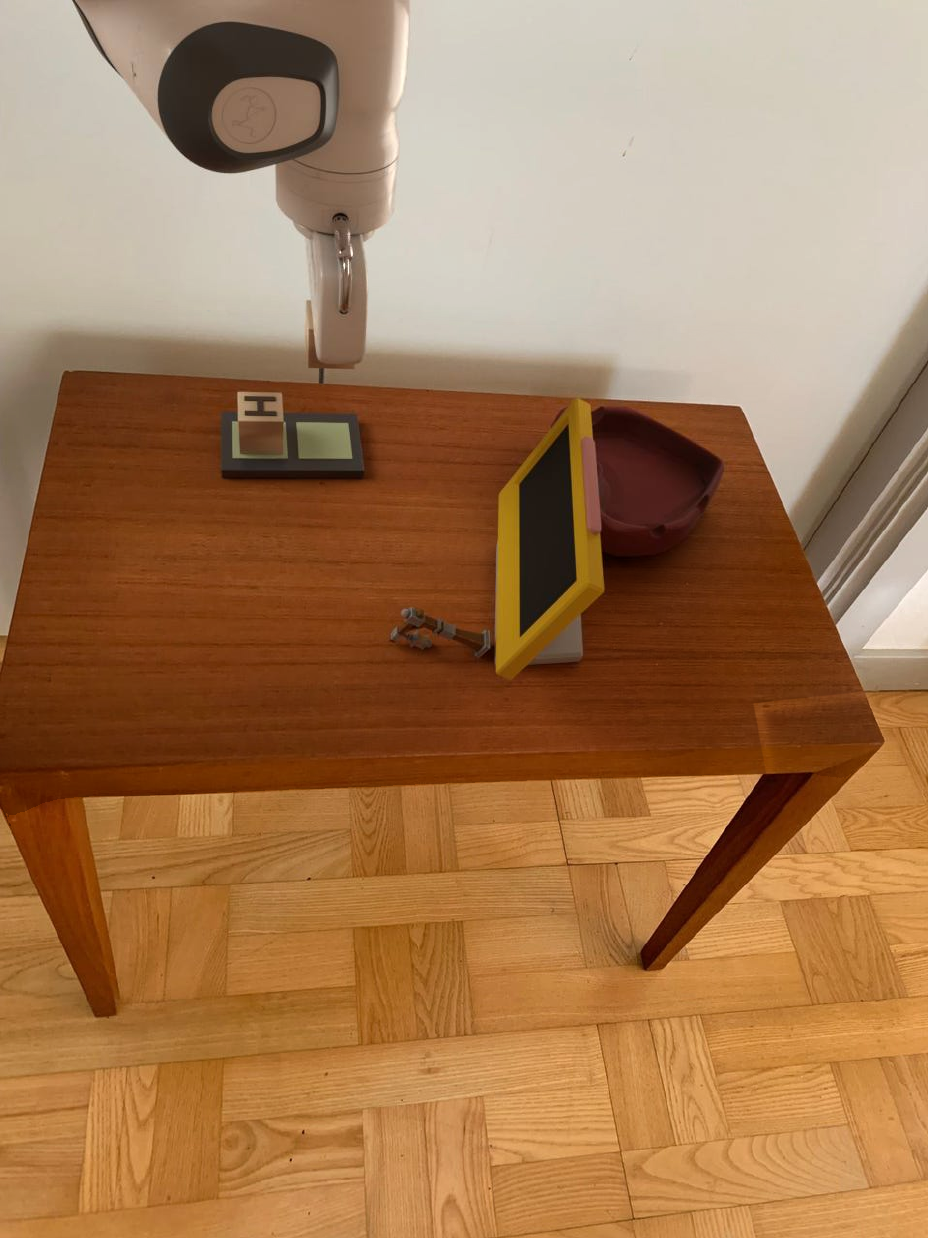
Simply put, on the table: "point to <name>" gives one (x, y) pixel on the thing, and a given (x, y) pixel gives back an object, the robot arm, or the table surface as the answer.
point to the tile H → (260, 423)
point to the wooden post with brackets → (443, 629)
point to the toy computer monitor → (548, 548)
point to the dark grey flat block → (298, 448)
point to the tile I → (310, 345)
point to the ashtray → (648, 481)
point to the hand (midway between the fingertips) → (329, 338)
